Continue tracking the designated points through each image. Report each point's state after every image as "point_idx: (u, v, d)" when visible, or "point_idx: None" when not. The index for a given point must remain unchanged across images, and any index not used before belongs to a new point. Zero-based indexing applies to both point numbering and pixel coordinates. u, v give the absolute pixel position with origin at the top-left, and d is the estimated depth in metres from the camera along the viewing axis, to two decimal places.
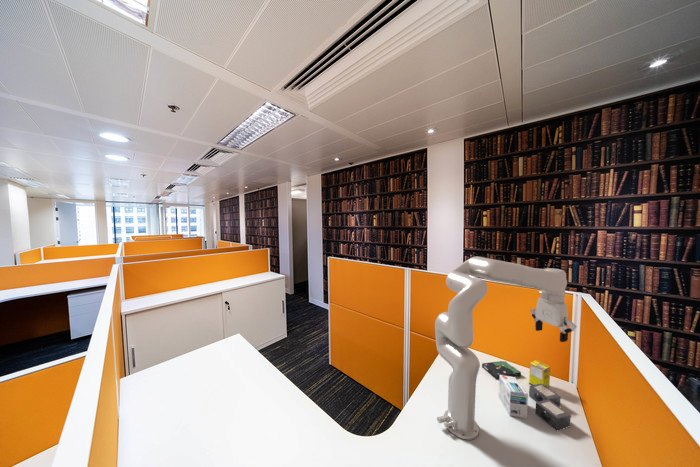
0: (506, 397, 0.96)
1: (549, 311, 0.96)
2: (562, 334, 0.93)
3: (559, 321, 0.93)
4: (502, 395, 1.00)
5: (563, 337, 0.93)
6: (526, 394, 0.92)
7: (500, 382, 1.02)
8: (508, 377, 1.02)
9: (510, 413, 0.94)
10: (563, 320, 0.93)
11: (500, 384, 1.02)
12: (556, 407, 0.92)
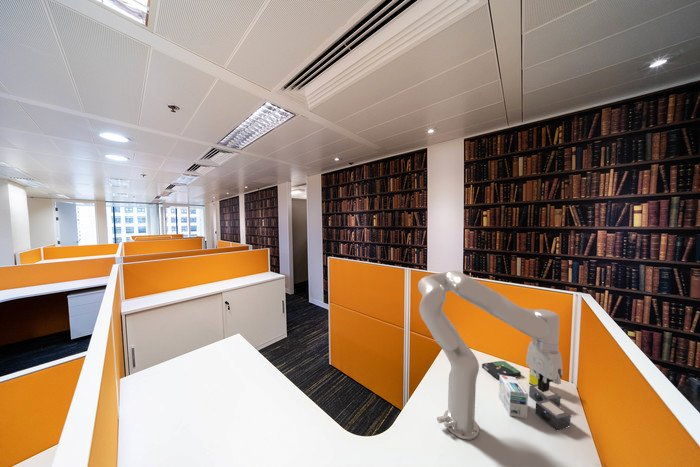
0: (506, 397, 0.96)
1: (541, 360, 0.84)
2: (543, 383, 0.85)
3: (552, 374, 0.81)
4: (503, 395, 1.00)
5: (544, 387, 0.85)
6: (526, 394, 0.92)
7: (500, 382, 1.02)
8: (508, 377, 1.02)
9: (510, 413, 0.94)
10: (557, 373, 0.81)
11: (500, 384, 1.02)
12: (556, 407, 0.92)
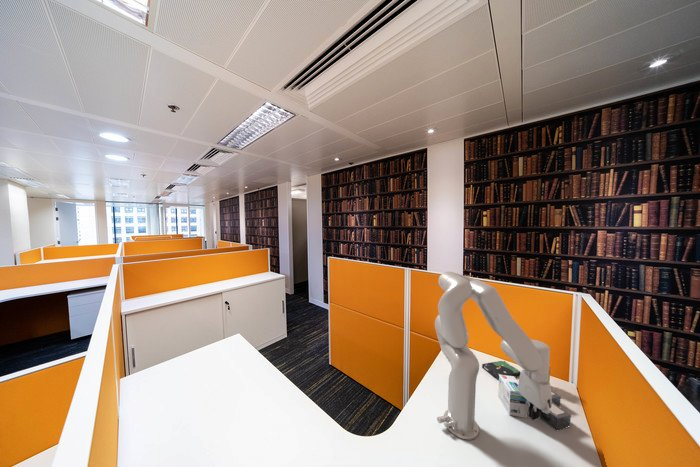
0: (506, 397, 0.96)
1: (532, 390, 0.87)
2: (533, 412, 0.88)
3: (542, 404, 0.84)
4: (502, 394, 1.00)
5: (534, 415, 0.88)
6: None
7: (500, 381, 1.02)
8: (507, 376, 1.02)
9: (510, 412, 0.94)
10: (546, 403, 0.84)
11: (500, 383, 1.02)
12: (556, 407, 0.92)
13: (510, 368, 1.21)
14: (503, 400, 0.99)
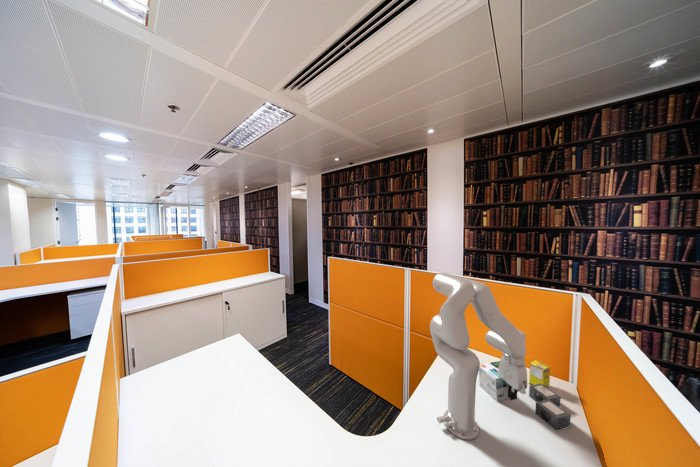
0: (491, 385, 1.03)
1: (510, 373, 0.97)
2: (511, 392, 0.98)
3: (518, 385, 0.93)
4: (485, 383, 1.07)
5: (513, 395, 0.98)
6: None
7: (480, 371, 1.09)
8: (485, 364, 1.10)
9: (497, 399, 1.01)
10: (522, 384, 0.93)
11: (480, 373, 1.09)
12: (556, 407, 0.92)
13: None
14: (487, 388, 1.06)
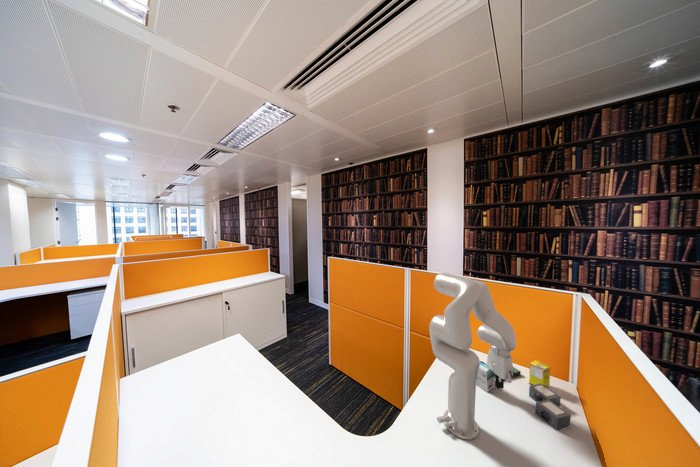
0: (481, 377, 1.08)
1: (497, 363, 1.03)
2: (498, 382, 1.04)
3: (504, 374, 0.99)
4: None
5: (499, 385, 1.04)
6: None
7: None
8: None
9: (487, 389, 1.07)
10: (508, 373, 0.99)
11: None
12: (556, 407, 0.92)
13: None
14: (476, 381, 1.11)
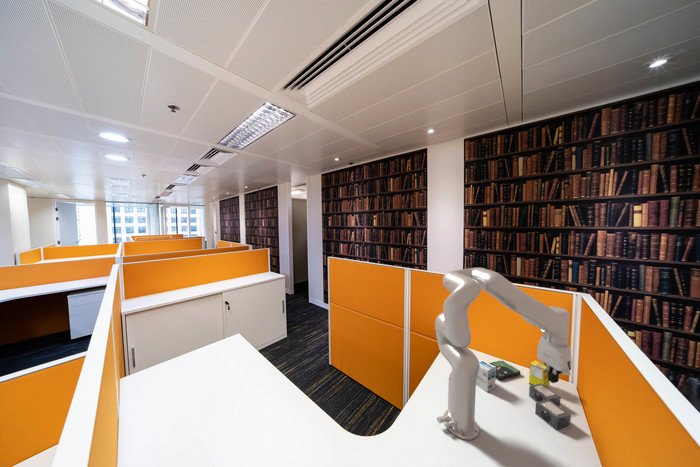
0: (482, 377, 1.09)
1: (551, 353, 0.91)
2: (553, 375, 0.92)
3: (562, 366, 0.87)
4: None
5: (554, 378, 0.92)
6: (495, 367, 1.09)
7: None
8: None
9: (487, 389, 1.07)
10: (566, 365, 0.87)
11: None
12: (556, 407, 0.92)
13: (510, 368, 1.21)
14: (476, 381, 1.11)
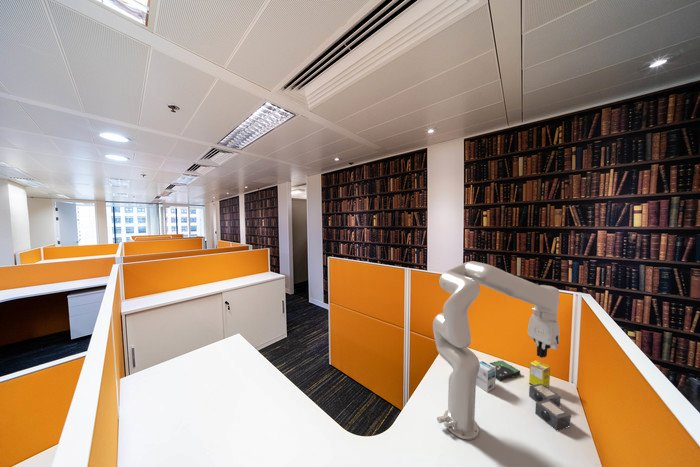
0: (482, 377, 1.09)
1: (541, 329, 0.95)
2: (541, 350, 0.96)
3: (551, 339, 0.92)
4: None
5: (542, 353, 0.96)
6: (495, 367, 1.09)
7: None
8: None
9: (487, 389, 1.07)
10: (555, 339, 0.92)
11: None
12: (556, 407, 0.92)
13: (509, 368, 1.21)
14: (476, 381, 1.11)
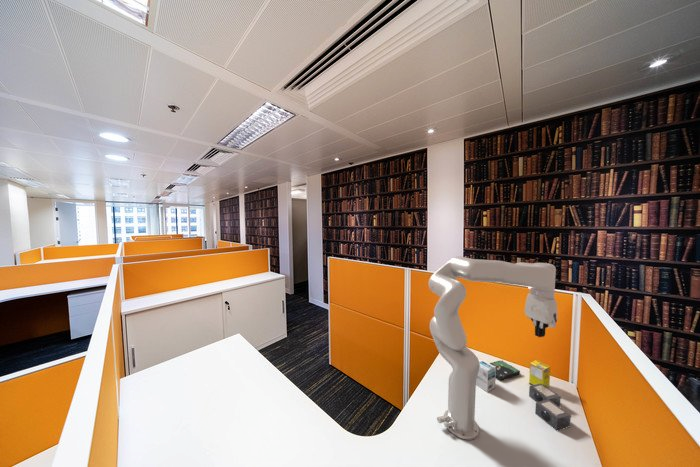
0: (482, 377, 1.09)
1: (538, 307, 0.92)
2: (539, 329, 0.93)
3: (548, 318, 0.89)
4: None
5: (541, 332, 0.93)
6: (495, 367, 1.09)
7: None
8: None
9: (487, 389, 1.07)
10: (552, 317, 0.89)
11: None
12: (556, 407, 0.92)
13: (509, 367, 1.22)
14: (476, 381, 1.11)
